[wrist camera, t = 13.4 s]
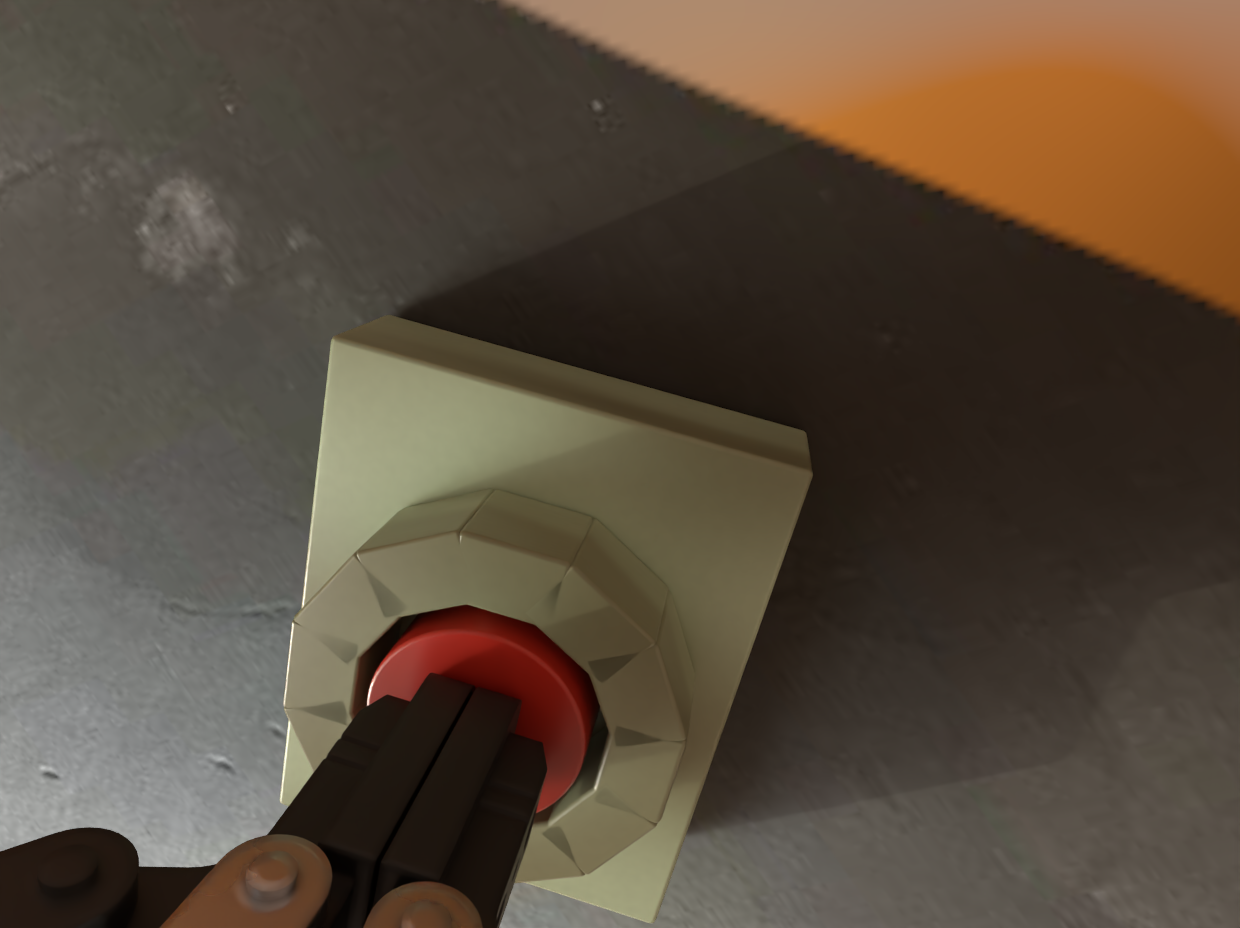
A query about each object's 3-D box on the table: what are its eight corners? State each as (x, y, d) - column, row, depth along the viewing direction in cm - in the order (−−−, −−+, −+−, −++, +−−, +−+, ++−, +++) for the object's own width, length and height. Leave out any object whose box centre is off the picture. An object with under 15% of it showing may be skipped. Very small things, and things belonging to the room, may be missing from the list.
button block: (387, 312, 15) (267, 359, 12) (808, 430, 15) (823, 518, 11) (329, 735, 19) (223, 874, 15) (666, 843, 18) (641, 1012, 15)
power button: (423, 551, 14) (380, 601, 13) (627, 612, 14) (609, 671, 12) (395, 719, 15) (351, 783, 14) (580, 776, 15) (558, 849, 14)
